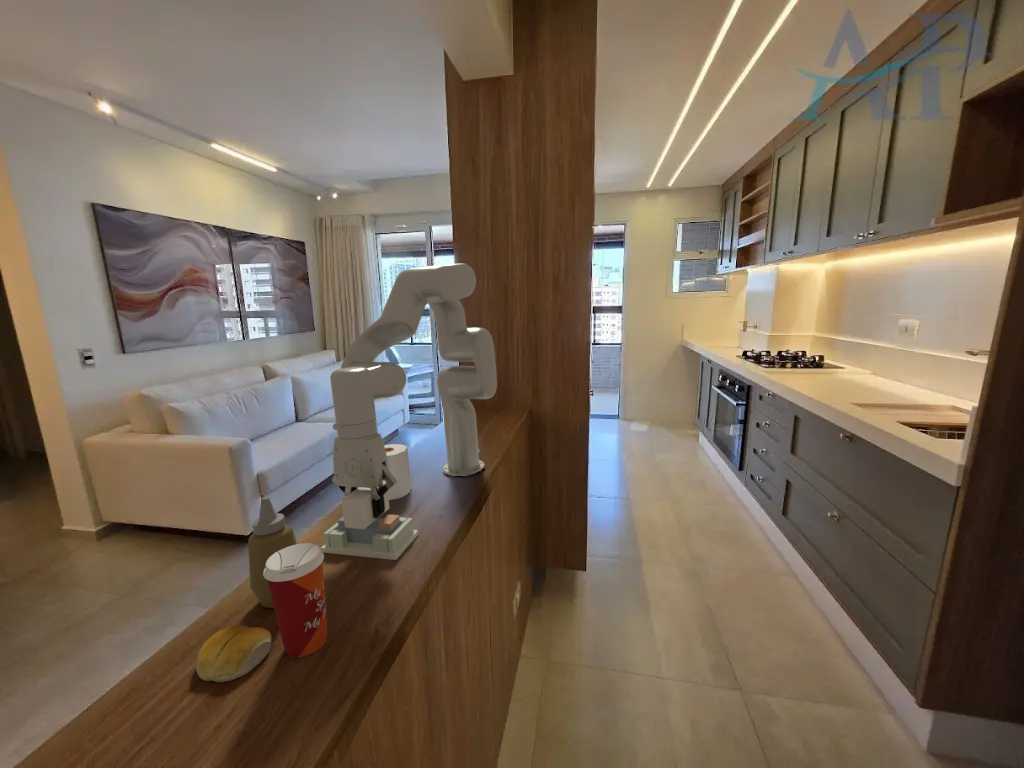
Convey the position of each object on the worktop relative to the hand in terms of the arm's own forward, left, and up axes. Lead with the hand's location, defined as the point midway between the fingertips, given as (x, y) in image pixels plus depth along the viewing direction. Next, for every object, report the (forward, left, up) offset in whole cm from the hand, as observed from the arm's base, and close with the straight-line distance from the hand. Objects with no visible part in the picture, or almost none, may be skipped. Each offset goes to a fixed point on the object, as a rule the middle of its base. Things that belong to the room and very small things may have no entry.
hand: (367, 513), depth 86 cm
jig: (0, 0, -7) cm, 7 cm away
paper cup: (+26, +6, -7) cm, 28 cm away
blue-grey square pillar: (0, 0, -6) cm, 6 cm away
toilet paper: (-24, -9, -7) cm, 26 cm away
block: (0, 0, -1) cm, 1 cm away
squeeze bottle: (+18, -6, -7) cm, 20 cm away
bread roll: (+30, -2, -7) cm, 31 cm away
